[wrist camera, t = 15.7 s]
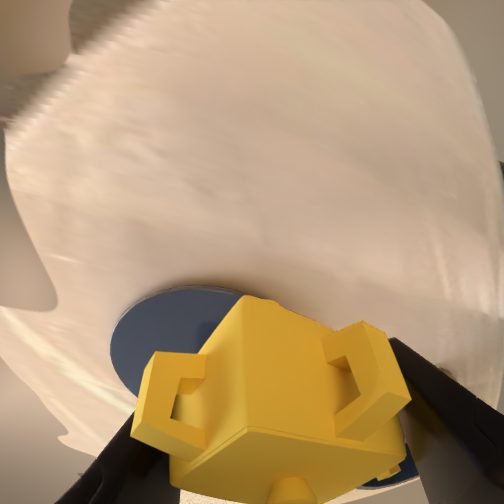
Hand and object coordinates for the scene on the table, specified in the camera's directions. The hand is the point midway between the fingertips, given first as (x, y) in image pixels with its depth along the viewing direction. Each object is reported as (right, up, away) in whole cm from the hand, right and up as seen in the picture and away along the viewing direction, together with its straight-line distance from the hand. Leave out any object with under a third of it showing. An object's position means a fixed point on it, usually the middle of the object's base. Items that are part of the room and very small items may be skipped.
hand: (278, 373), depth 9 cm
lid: (-4, -5, +14) cm, 15 cm away
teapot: (+1, +1, +1) cm, 1 cm away
